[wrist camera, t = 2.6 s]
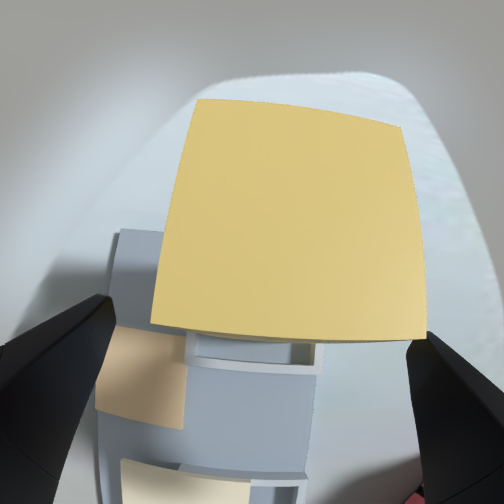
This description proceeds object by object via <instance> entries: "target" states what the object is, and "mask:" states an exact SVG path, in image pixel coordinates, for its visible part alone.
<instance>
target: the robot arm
mask: <svg viewBox="0 0 504 504" xmlns="http://www.w3.org/2000/svg"><path fill="white" fill-rule="evenodd" d="M115 326H116V314H115V309H114V304H113V300H112V298H111V296H109V295H105V294H96V295H94V296H92V297H90V298H88V299H86V300H84V301H82V302H81V303H79V304H77V305H75V306H73V307H71V308H69V309H67V310H65V311H64V312H62V313H60V314H58V315H56V316H54V317H52V318H51V319H49V320H47V321H45V322H43V323H41V324H40V325H38V326H36V327H34V328H32V329H30V330H29V331H27V332H25V333H23V334H21V335H20V336H18V337H16V338H14V339H12V340H11V341H9V342H7V343H5V345H2V346H0V504H53V501H54V497H55V494H56V490H57V487H58V484H59V480H60V476H61V473H62V470H63V467H64V464H65V461H66V458H67V455H68V452H69V449H70V446H71V443H72V440H73V438H74V435H75V432H76V430H77V427H78V424H79V422H80V419H81V416H82V414H83V411H84V409H85V406H86V404H87V401H88V399H89V396H90V394H91V392H92V389H93V387H94V384H95V382H96V380H97V377H98V375H99V373H100V370H101V368H102V365H103V362H104V359H105V356H106V353H107V350H108V347H109V344H110V341H111V338H112V335H113V332H114V329H115ZM406 361H407V368H408V376H409V385H410V394H411V401H412V407H413V412H414V418H415V424H416V430H417V436H418V443H419V450H420V457H421V466H422V475H423V487H424V501H425V504H504V393H503V392H502V391H501V390H500V389H499V388H498V387H497V386H495V385H494V384H493V383H492V382H491V381H490V380H489V379H487V378H486V377H485V376H484V375H483V374H482V373H480V372H479V371H478V370H477V369H476V368H475V367H473V366H472V365H471V364H470V363H469V362H467V361H466V360H465V359H464V358H463V357H461V356H460V355H459V354H458V353H457V352H455V351H454V350H453V349H452V348H451V347H449V346H448V345H447V344H446V343H444V342H443V341H442V340H441V339H439V338H438V337H437V336H436V335H434V334H433V333H432V332H430V331H427V332H426V339H418V340H413V341H412V342H411V344H410V346H409V348H408V349H407V353H406Z"/></svg>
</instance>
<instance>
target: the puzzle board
mask: <svg viewBox="0 0 504 504" xmlns="http://www.w3.org/2000/svg"><path fill="white" fill-rule="evenodd" d="M163 237H164V232H159V231H147V230H134V229H121V231H120V235H119V239H118V244H117V249H116V253H115V258H114V263H113V268H112V274H111V279H110V285H109V291H108V295H109V296H111V298H112V300H113V304H114V309H115V314H116V326H115V329H114V332H113V335H112V338H111V341H110V344H109V347H108V350H107V353H106V356H105V359H104V362H103V365H102V368H101V370H100V373H99V375H98V377H97V380H96V389H95V409H96V410H98V456H99V471H100V483H101V493H102V501H103V504H304V502H305V497H306V492H307V486H308V481H309V479H308V477H307V475H306V473H305V466H306V459H307V453H308V446H309V438H310V431H311V423H312V414H313V405H314V396H315V386H316V375H322V371H323V358H324V344H325V343H280V342H265V341H252V340H241V339H230V338H220V337H215V336H209V335H204V334H199V333H193V332H188V331H184V330H179V329H174V328H169V327H165V326H160V325H156V324H152V323H150V321H151V313H152V305H153V298H154V291H155V284H156V277H157V271H158V265H159V259H160V253H161V248H162V242H163Z"/></svg>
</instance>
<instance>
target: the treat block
mask: <svg viewBox="0 0 504 504" xmlns="http://www.w3.org/2000/svg"><path fill="white" fill-rule="evenodd" d="M150 323H152V324H156V325H160V326H165V327H169V328H174V329H179V330H184V331H188V332H193V333H199V334H204V335H209V336H215V337H220V338H230V339H241V340H252V341H265V342H280V343H369V342H389V341H405V340H418V339H426V332H427V304H426V278H425V263H424V252H423V242H422V233H421V225H420V218H419V211H418V205H417V199H416V193H415V187H414V182H413V177H412V172H411V167H410V163H409V158H408V154H407V150H406V146H405V142H404V138H403V134H402V131H401V127H398V126H394V125H390V124H387V123H383V122H379V121H374V120H370V119H366V118H361V117H357V116H352V115H347V114H342V113H337V112H331V111H325V110H319V109H313V108H307V107H300V106H292V105H284V104H275V103H265V102H254V101H240V100H219V99H197V102H196V106H195V109H194V112H193V116H192V119H191V123H190V126H189V130H188V133H187V137H186V141H185V144H184V148H183V152H182V156H181V160H180V164H179V168H178V172H177V176H176V180H175V184H174V189H173V193H172V198H171V202H170V207H169V212H168V217H167V221H166V226H165V232H164V237H163V242H162V248H161V253H160V259H159V265H158V271H157V277H156V284H155V291H154V298H153V305H152V313H151V321H150Z"/></svg>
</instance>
